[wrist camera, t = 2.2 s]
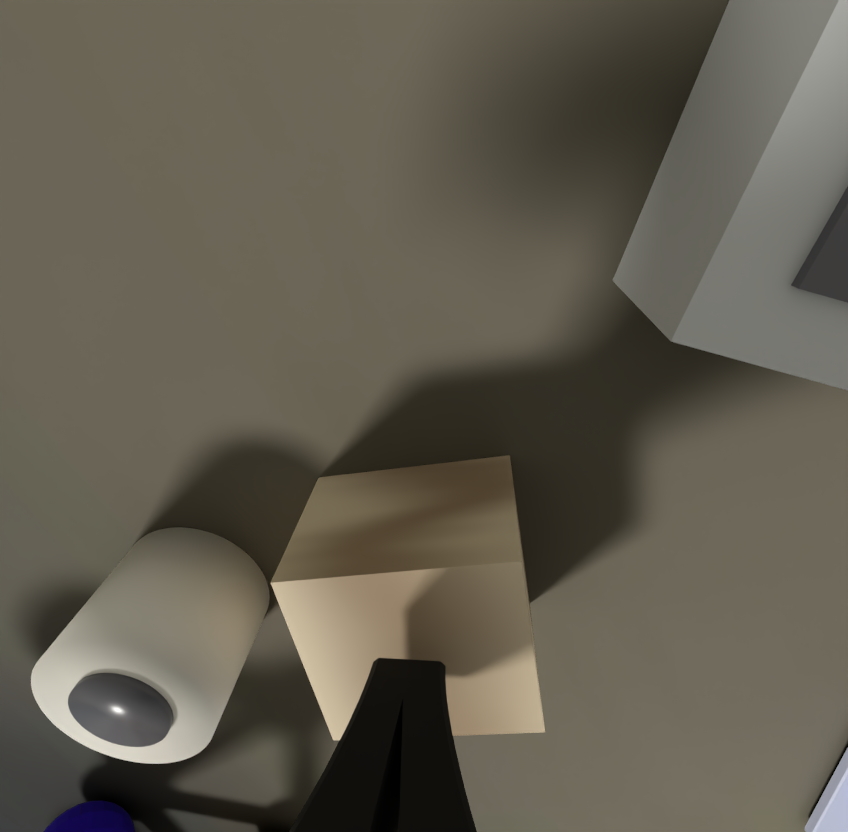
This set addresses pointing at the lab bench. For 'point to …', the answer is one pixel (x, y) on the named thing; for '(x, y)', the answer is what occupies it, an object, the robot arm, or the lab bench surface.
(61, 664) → the offwhite stopper
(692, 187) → the grey labelled block
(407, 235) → the lab bench surface
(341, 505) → the beech block
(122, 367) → the lab bench surface
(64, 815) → the molecular model
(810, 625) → the lab bench surface
